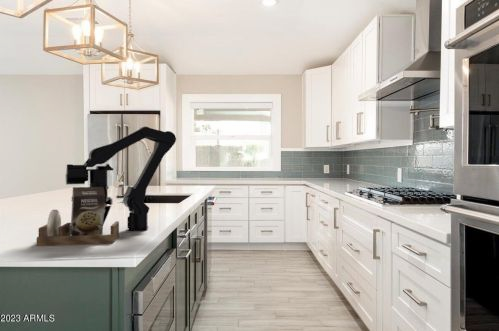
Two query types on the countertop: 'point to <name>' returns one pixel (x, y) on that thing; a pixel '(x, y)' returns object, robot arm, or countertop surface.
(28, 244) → the countertop surface
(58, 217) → the rack
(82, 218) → the coffee box
